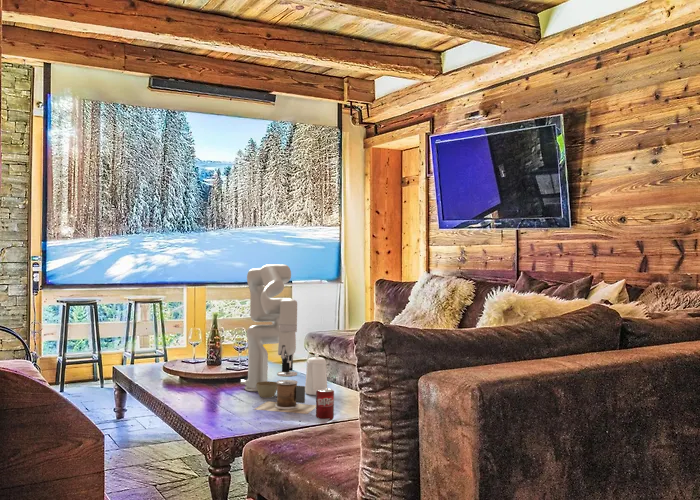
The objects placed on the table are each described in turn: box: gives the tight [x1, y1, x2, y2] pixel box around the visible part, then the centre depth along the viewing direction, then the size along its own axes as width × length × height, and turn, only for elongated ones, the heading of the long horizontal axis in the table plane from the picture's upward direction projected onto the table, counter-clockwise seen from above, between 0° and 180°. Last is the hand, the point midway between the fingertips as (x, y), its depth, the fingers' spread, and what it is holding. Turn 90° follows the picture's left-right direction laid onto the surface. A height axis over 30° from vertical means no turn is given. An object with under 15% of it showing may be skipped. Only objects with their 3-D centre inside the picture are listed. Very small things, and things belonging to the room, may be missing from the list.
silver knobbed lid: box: [276, 360, 298, 378], centre depth 284 cm, size 9×9×6 cm
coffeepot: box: [304, 353, 328, 396], centre depth 318 cm, size 11×25×19 cm, turn 168°
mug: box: [275, 379, 306, 410], centre depth 283 cm, size 13×10×11 cm
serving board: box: [253, 400, 316, 415], centre depth 284 cm, size 24×16×1 cm, turn 76°
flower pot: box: [256, 380, 277, 399], centre depth 305 cm, size 10×10×7 cm
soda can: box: [315, 387, 335, 422], centre depth 269 cm, size 7×7×12 cm
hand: (287, 370), depth 284 cm, fingers closed on silver knobbed lid, 3 cm apart
